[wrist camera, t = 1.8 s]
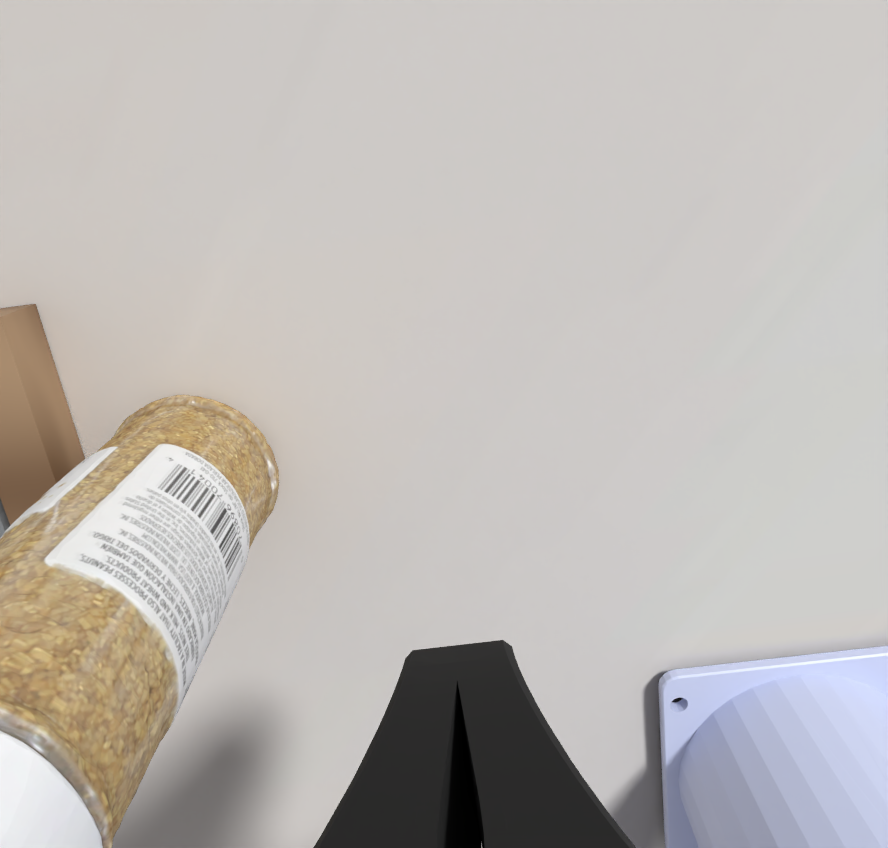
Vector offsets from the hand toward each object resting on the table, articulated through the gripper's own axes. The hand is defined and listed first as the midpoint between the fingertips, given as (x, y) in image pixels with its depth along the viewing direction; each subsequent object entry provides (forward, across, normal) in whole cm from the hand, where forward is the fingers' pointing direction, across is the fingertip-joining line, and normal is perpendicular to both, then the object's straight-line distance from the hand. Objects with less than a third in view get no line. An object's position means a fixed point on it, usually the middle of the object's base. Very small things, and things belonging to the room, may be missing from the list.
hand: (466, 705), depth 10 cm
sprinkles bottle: (+11, +7, 0) cm, 13 cm away
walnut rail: (+10, +11, 0) cm, 15 cm away
